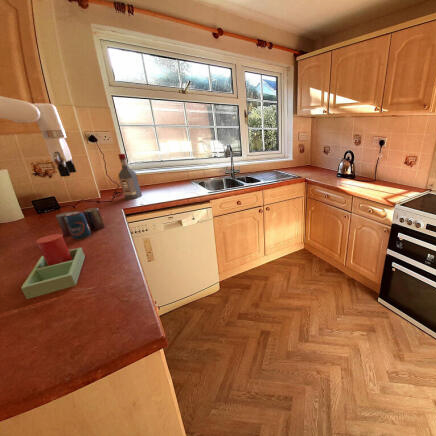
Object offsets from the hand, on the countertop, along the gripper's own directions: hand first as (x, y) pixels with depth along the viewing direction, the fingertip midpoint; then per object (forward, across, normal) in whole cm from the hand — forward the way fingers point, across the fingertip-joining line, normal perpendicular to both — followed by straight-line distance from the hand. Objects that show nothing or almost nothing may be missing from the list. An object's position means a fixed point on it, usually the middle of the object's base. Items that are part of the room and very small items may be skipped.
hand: (69, 174), depth 111 cm
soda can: (+28, +10, -1) cm, 30 cm away
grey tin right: (+28, +1, +3) cm, 28 cm away
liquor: (+28, -55, +15) cm, 64 cm away
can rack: (+28, +46, 0) cm, 53 cm away
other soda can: (+27, +40, 0) cm, 49 cm away
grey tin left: (+28, +2, -7) cm, 29 cm away
